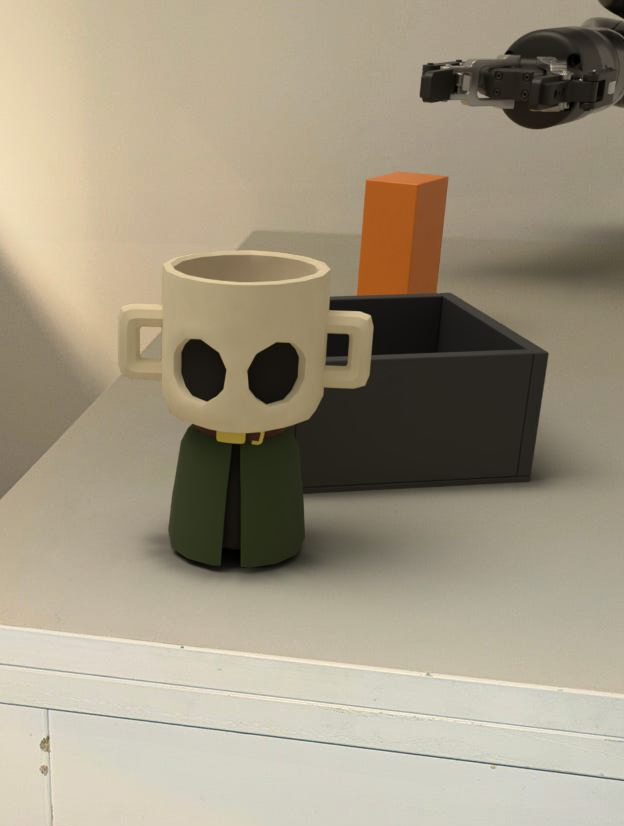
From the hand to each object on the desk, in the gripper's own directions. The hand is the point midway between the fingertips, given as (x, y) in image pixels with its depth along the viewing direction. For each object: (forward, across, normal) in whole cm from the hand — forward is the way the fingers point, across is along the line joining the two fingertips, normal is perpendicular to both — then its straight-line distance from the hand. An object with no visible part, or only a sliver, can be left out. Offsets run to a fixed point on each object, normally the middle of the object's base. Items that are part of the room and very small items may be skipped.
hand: (479, 91), depth 97 cm
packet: (+11, 0, +16) cm, 19 cm away
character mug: (+52, +13, +16) cm, 56 cm away
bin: (+36, +11, +16) cm, 41 cm away
